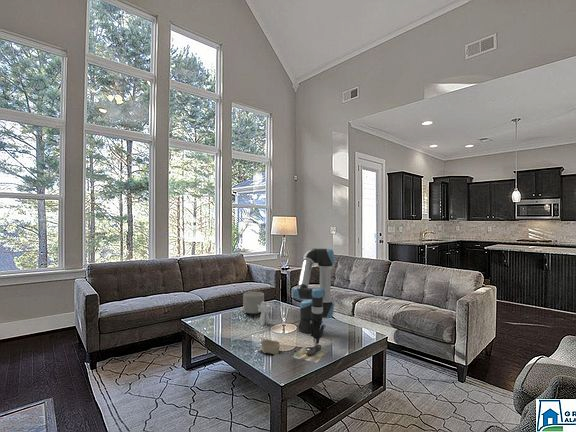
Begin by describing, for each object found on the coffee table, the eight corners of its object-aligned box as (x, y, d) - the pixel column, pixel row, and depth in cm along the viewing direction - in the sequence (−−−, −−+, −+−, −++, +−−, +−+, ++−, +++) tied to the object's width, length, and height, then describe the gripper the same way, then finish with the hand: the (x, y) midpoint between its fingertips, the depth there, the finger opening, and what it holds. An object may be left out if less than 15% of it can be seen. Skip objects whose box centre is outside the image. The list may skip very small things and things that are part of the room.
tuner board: (290, 358, 202) (290, 356, 202) (302, 347, 218) (302, 345, 219) (317, 364, 193) (317, 362, 193) (327, 353, 210) (327, 350, 210)
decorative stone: (259, 349, 216) (259, 337, 216) (280, 351, 213) (280, 338, 214) (256, 354, 208) (256, 341, 208) (278, 356, 205) (278, 343, 205)
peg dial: (303, 359, 197) (303, 354, 197) (296, 356, 201) (296, 351, 201) (323, 350, 211) (323, 345, 211) (316, 347, 215) (316, 343, 215)
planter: (243, 310, 306) (243, 291, 306) (263, 310, 308) (263, 291, 308) (242, 316, 287) (243, 296, 287) (264, 316, 289) (264, 296, 289)
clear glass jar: (269, 326, 262) (270, 304, 262) (255, 324, 266) (255, 302, 267) (275, 321, 273) (275, 300, 274) (260, 320, 278) (260, 299, 278)
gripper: (306, 311, 214) (305, 346, 214) (321, 315, 206) (320, 352, 205) (312, 309, 220) (312, 343, 220) (328, 313, 211) (327, 349, 211)
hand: (316, 347), depth 213 cm, fingers closed
